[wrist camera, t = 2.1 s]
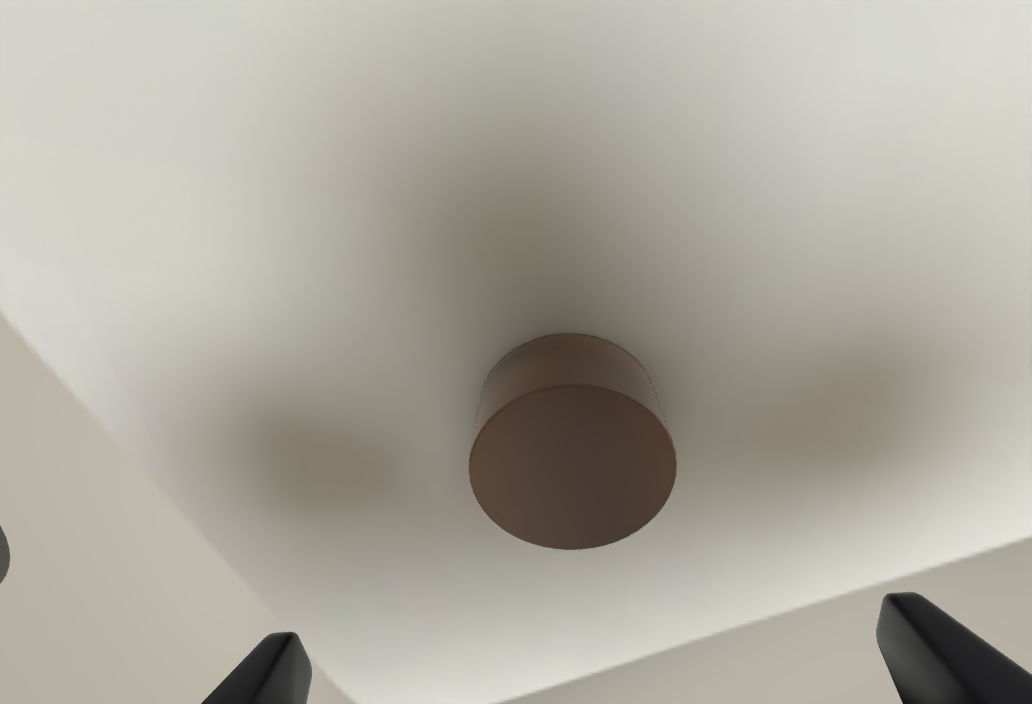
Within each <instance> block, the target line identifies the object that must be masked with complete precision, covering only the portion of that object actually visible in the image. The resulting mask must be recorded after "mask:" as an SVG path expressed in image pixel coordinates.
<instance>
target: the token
mask: <svg viewBox="0 0 1032 704" xmlns="http://www.w3.org/2000/svg"><path fill="white" fill-rule="evenodd" d="M676 467H677V461H676V452H675V449H674V445H673V441H672V439H671V436H670V433H669V430H668V427H667V425H666V422H665V419H664V416H663V413H662V410H661V408H660V405H659V402H658V399H657V396H656V394H655V391H654V388H653V385H652V383H651V381H650V379H649V377H648V375H647V373H646V372H645V370H644V369H643V367H642V366H641V365H640V364H639V363H638V362H637V361H636V359H634V358H633V357H632V356H631V355H630V354H629V353H627V352H626V351H624V350H623V349H621V348H620V347H618V346H616V345H614V344H612V343H610V342H608V341H606V340H602V339H599V338H596V337H592V336H587V335H581V334H557V335H551V336H545V337H542V338H539V339H535V340H533V341H530V342H528V343H526V344H523V345H521V346H520V347H518V348H516V349H515V350H513V351H512V352H510V353H509V354H508V355H506V356H505V357H504V358H503V359H502V360H501V361H500V362H499V363H498V364H497V365H496V366H495V367H494V369H493V370H492V371H491V373H490V374H489V376H488V378H487V380H486V381H485V383H484V386H483V389H482V392H481V395H480V401H479V406H478V412H477V418H476V423H475V429H474V435H473V441H472V446H471V452H470V458H469V476H470V483H471V486H472V489H473V492H474V494H475V496H476V499H477V501H478V503H479V504H480V506H481V507H482V509H483V510H484V512H485V513H486V514H487V515H488V516H489V517H490V518H491V519H492V520H493V521H494V522H495V523H496V524H497V525H498V526H500V527H501V528H502V529H504V530H505V531H507V532H508V533H510V534H511V535H513V536H515V537H517V538H519V539H521V540H524V541H526V542H529V543H532V544H535V545H539V546H542V547H548V548H554V549H565V550H577V549H588V548H595V547H599V546H604V545H607V544H610V543H613V542H616V541H619V540H621V539H623V538H625V537H628V536H629V535H631V534H633V533H635V532H636V531H638V530H639V529H641V528H642V527H643V526H645V525H646V524H647V523H648V522H650V521H651V520H652V519H653V518H654V517H655V516H656V515H657V513H658V512H659V511H660V510H661V508H662V507H663V506H664V504H665V502H666V501H667V499H668V497H669V495H670V493H671V490H672V488H673V485H674V481H675V477H676Z"/></svg>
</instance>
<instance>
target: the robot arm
mask: <svg viewBox="0 0 1032 704" xmlns="http://www.w3.org/2000/svg"><path fill="white" fill-rule="evenodd" d="M876 636H877V642H878V645H879V648H880V650H881V653H882V655H883V657H884V660H885V662H886V665H887V667H888V669H889V672H890V674H891V676H892V679H893V681H894V684H895V686H896V688H897V691H898V693H899V696H900V698H901V700H902V703H903V704H1032V675H1031V674H1030V673H1029V672H1027V671H1026V670H1024V669H1023V668H1022V667H1020V666H1019V665H1018V664H1016V663H1015V662H1013V661H1012V660H1011V659H1009V658H1008V657H1007V656H1005V655H1004V654H1002V653H1001V652H1000V651H998V650H997V649H995V648H994V647H993V646H991V645H990V644H988V643H987V642H986V641H984V640H983V639H982V638H980V637H979V636H977V635H976V634H975V633H973V632H972V631H970V630H969V629H968V628H966V627H965V626H963V625H962V624H961V623H959V622H958V621H957V620H955V619H954V618H952V617H951V616H950V615H948V614H947V613H945V612H944V611H942V610H941V609H940V608H938V607H937V606H935V605H934V604H933V603H932V602H930V601H929V600H927V599H926V598H925V597H923V596H921V595H919V594H917V593H914V592H902V593H889V594H887V595H886V596H885V597H884V598H883V601H882V606H881V610H880V615H879V619H878V624H877V628H876ZM311 677H312V668H311V663H310V660H309V658H308V656H307V654H306V652H305V649H304V647H303V645H302V643H301V641H300V638H299V636H298V635H297V634H296V633H294V632H281V633H272V634H270V635H268V636H267V637H265V638H264V639H263V640H262V641H261V643H259V644H258V645H257V646H256V648H254V649H253V651H252V652H251V653H250V654H249V655H248V656H247V657H246V658H245V659H244V660H243V661H242V662H241V663H240V664H239V665H238V666H237V667H236V668H235V669H234V670H233V671H232V672H231V673H230V674H229V676H227V677H226V678H225V679H224V680H223V682H222V683H221V684H220V685H219V686H218V687H217V688H216V689H215V690H214V691H213V692H212V693H211V694H210V695H209V696H208V697H207V698H206V699H205V700H204V701H203V702H202V703H201V704H306V702H307V698H308V693H309V687H310V683H311Z"/></svg>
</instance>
